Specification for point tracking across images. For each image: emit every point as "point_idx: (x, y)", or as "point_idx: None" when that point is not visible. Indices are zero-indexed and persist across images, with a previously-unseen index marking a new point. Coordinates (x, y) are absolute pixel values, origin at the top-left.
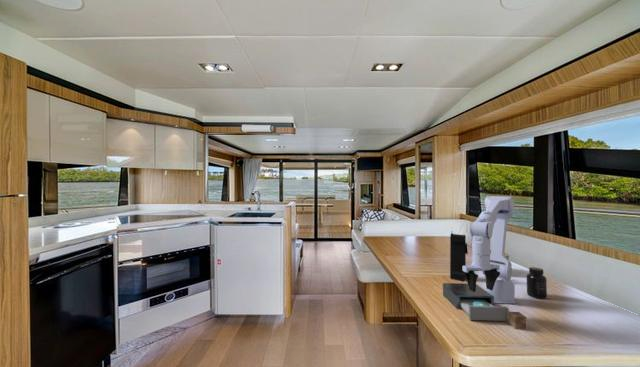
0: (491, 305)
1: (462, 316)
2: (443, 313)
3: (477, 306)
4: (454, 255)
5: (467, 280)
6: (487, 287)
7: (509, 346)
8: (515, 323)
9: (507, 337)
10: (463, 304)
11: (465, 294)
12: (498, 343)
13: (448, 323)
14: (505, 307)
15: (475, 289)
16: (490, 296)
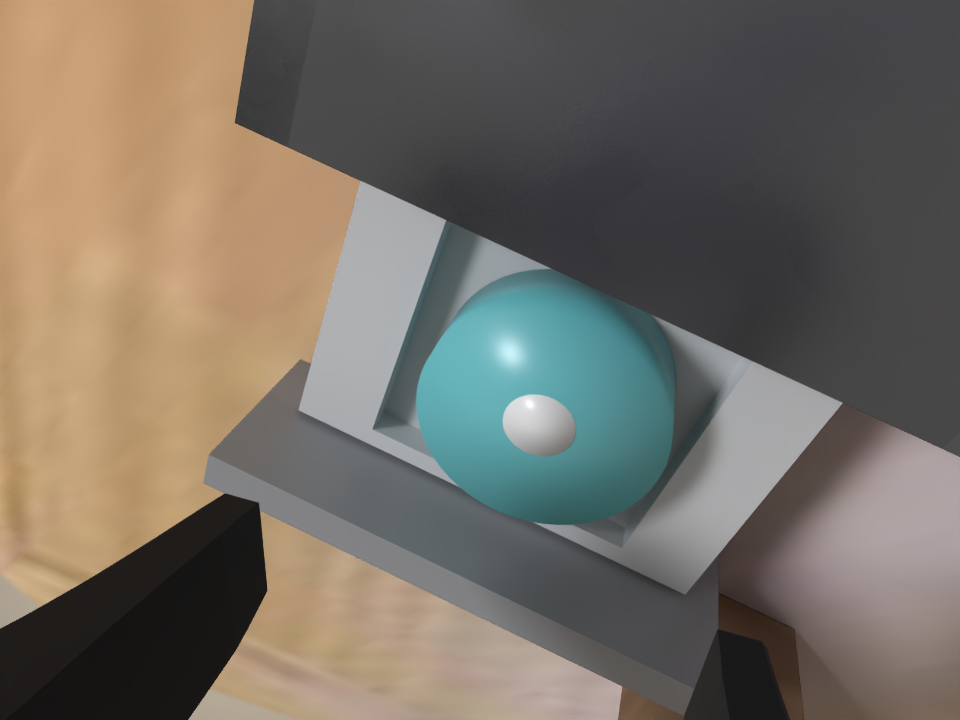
0: (812, 411)
1: (286, 273)
2: (94, 120)
3: (309, 520)
4: None
5: (9, 646)
6: (710, 670)
7: (320, 691)
8: (623, 690)
9: (410, 653)
10: (369, 199)
11: (451, 162)
12: (274, 647)
13: (49, 318)
14: (679, 701)
15: (234, 643)
16: (930, 437)
